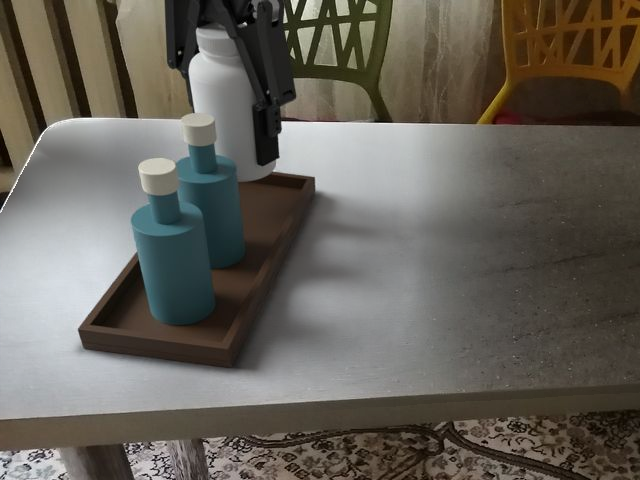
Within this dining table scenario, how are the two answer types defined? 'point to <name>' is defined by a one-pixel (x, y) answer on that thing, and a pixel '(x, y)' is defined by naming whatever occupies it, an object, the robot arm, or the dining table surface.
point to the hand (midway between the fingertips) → (238, 148)
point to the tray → (229, 285)
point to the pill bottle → (226, 99)
